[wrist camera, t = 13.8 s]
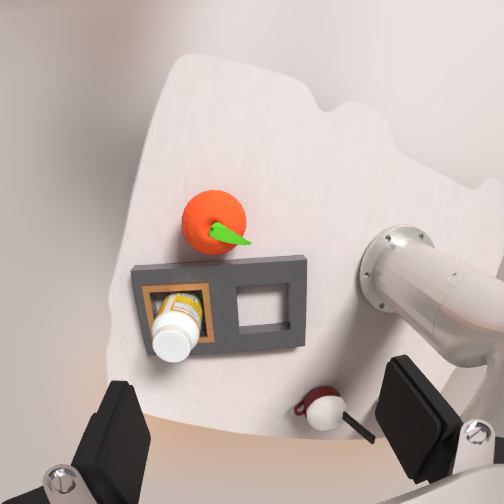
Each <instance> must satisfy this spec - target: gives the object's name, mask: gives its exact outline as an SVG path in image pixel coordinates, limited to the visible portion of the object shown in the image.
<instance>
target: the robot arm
mask: <svg viewBox="0 0 504 504" xmlns="http://www.w3.org/2000/svg"><path fill="white" fill-rule="evenodd" d="M365 273H366V274H365ZM359 278H360V286H361V290H362V293H363V295H364V297H365V298H366V299H367V301H368V302H369V303H370V304H371V305H372V306H373V307H374V308H376V309H377V310H379V311H382V312H386V313H397V314H398V315H399V316H400V317H401V318H403V319H404V320H405V321H406V322H407V323H408V324H409V325H410V326H411V327H412V328H413V329H414V330H415V331H416V332H417V333H418V334H419V335H420V336H421V337H422V338H424V339H425V340H426V341H427V342H428V343H429V344H430V345H431V346H432V347H433V348H434V349H435V350H436V351H437V352H438V353H439V354H440V355H441V356H442V357H443V358H444V359H445V360H447V361H448V362H449V363H451V364H453V365H455V366H458V367H465V368H471V367H478V366H482V365H487V371H486V373H485V375H484V378H483V379H482V381H481V383H480V385H479V388H478V389H477V391H476V393H475V395H474V396H473V398H472V399H471V401H470V403H469V404H468V406H467V407H466V409H465V411H464V412H463V413H462V415H461V416H460V417H459V416H458V415H457V413H456V412H455V411H454V410H453V408H452V407H451V406H450V405H449V404H448V402H447V401H446V400H445V399H444V398H443V397H442V395H441V394H440V393H439V392H438V390H437V389H436V388H435V387H434V386H433V385H432V383H431V382H430V381H429V380H428V379H427V378H426V376H425V375H424V374H423V373H422V372H421V371H420V369H419V368H418V367H417V366H416V365H415V364H414V363H413V361H412V360H411V359H410V358H409V357H408V356H407V355H401V356H397V357H393V358H391V360H390V362H388V363H387V365H386V370H385V374H384V379H383V383H382V387H381V391H380V395H379V399H378V403H377V407H376V411H375V417H376V420H377V422H378V423H379V425H380V427H381V429H382V431H383V432H384V434H385V436H386V438H387V440H388V441H389V443H390V445H391V447H392V449H393V451H394V453H395V454H396V456H397V458H398V460H399V462H400V464H401V465H402V467H403V469H404V471H405V473H406V475H407V476H408V478H409V479H413V481H414V482H415V484H418V483H421V482H423V481H425V480H428V482H429V483H430V484H429V485H427V486H425V487H422V488H419V489H417V490H414V491H411V492H409V493H406V494H403V495H400V496H398V497H395V498H392V499H389V500H386V501H383V502H380V503H376V504H504V282H503V281H501V280H499V279H496V278H495V277H493V276H491V275H489V274H487V273H485V272H483V271H481V270H479V269H477V268H475V267H473V266H471V265H469V264H467V263H465V262H463V261H461V260H459V259H456V258H454V257H452V256H450V255H448V254H446V253H444V252H442V251H440V250H438V249H435V247H434V244H433V242H432V241H431V239H430V237H429V236H428V235H427V234H426V233H425V232H424V231H422V230H421V229H419V228H416V227H414V226H410V225H397V226H394V227H391V228H389V229H387V230H385V231H383V232H382V233H381V234H379V235H378V236H377V237H376V238H375V239H374V240H373V241H372V242H371V244H370V245H369V247H368V248H367V250H366V252H365V254H364V257H363V259H362V263H361V266H360V274H359ZM150 441H151V437H150V432H149V430H148V427H147V424H146V422H145V419H144V416H143V413H142V410H141V408H140V405H139V402H138V399H137V396H136V393H135V390H134V387H133V386H132V385H129V383H128V382H127V381H114V380H113V381H111V382H110V384H109V387H108V389H107V391H106V393H105V396H104V398H103V400H102V402H101V404H100V407H99V409H98V411H97V413H94V414H93V415H92V416H91V418H90V421H89V423H88V425H87V427H86V430H85V432H84V434H83V436H82V439H81V441H80V444H79V446H78V449H77V451H76V453H75V456H74V458H73V461H72V463H71V466H69V465H63V464H61V465H56V466H53V467H52V468H50V469H49V470H48V471H46V473H45V475H44V476H43V486H41V487H39V488H37V489H34V490H32V491H29V492H27V493H24V494H22V495H19V496H17V497H14V498H11V499H9V500H7V501H5V502H3V503H2V504H138V502H139V497H140V491H141V485H142V481H143V475H144V470H145V466H146V460H147V456H148V451H149V446H150Z"/></svg>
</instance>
